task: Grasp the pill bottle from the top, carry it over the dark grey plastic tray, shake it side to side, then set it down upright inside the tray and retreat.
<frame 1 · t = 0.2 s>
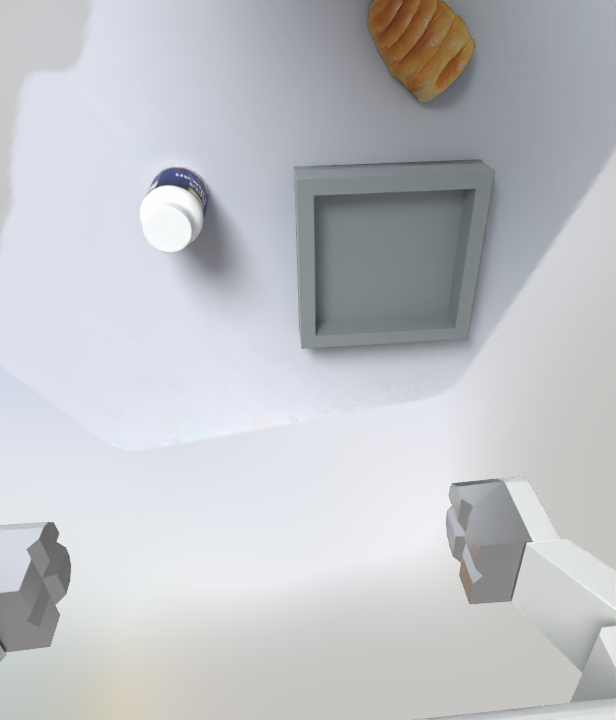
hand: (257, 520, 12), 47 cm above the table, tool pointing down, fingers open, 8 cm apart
pill bottle: (180, 191, 55), on the table
tray: (382, 250, 60), on the table
pastry: (416, 44, 50), on the table
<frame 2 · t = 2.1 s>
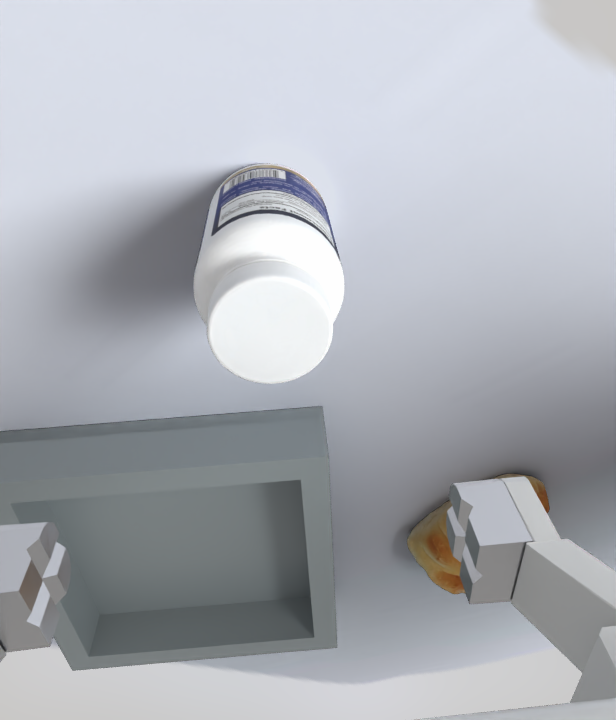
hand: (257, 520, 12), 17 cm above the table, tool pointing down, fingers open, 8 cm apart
pill bottle: (268, 219, 26), on the table
tray: (189, 524, 37), on the table
pastry: (468, 514, 39), on the table
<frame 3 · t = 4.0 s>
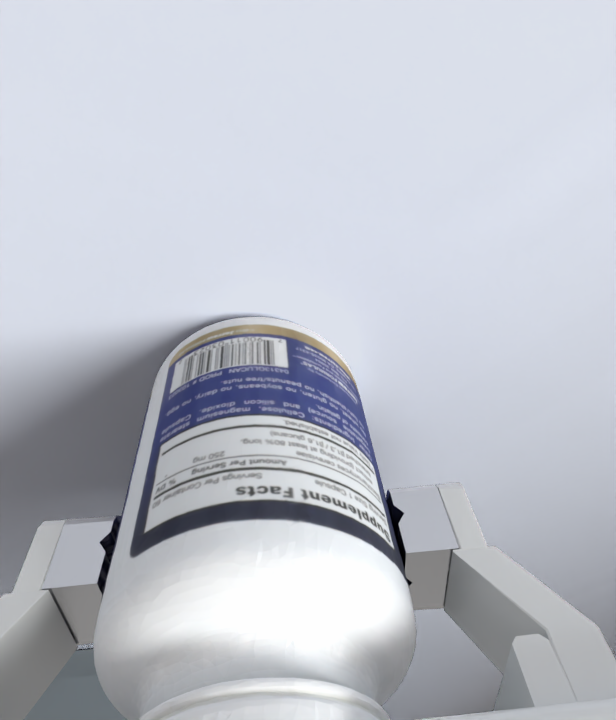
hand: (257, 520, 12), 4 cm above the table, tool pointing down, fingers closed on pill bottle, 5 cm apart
pill bottle: (257, 393, 15), on the table, touching gripper
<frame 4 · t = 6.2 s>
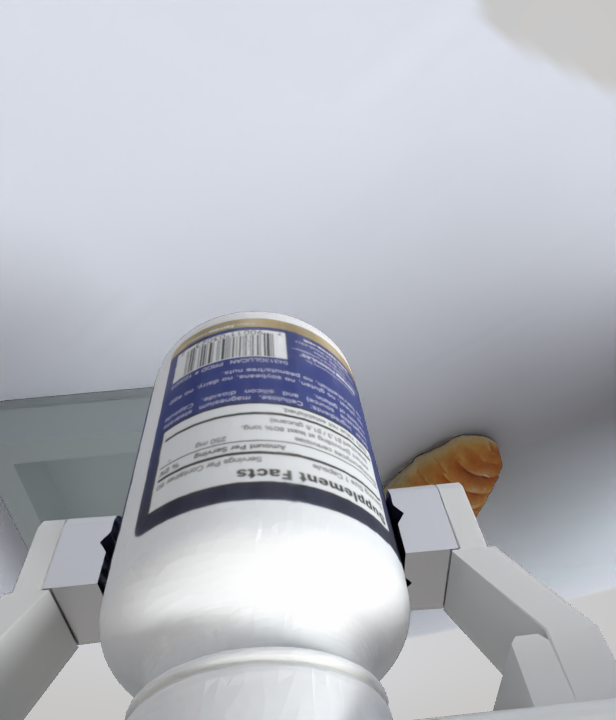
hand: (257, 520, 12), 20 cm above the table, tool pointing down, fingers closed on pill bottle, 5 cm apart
pill bottle: (257, 387, 16), point 16 cm above the table, touching gripper
tray: (179, 490, 40), on the table
pastry: (431, 476, 42), on the table
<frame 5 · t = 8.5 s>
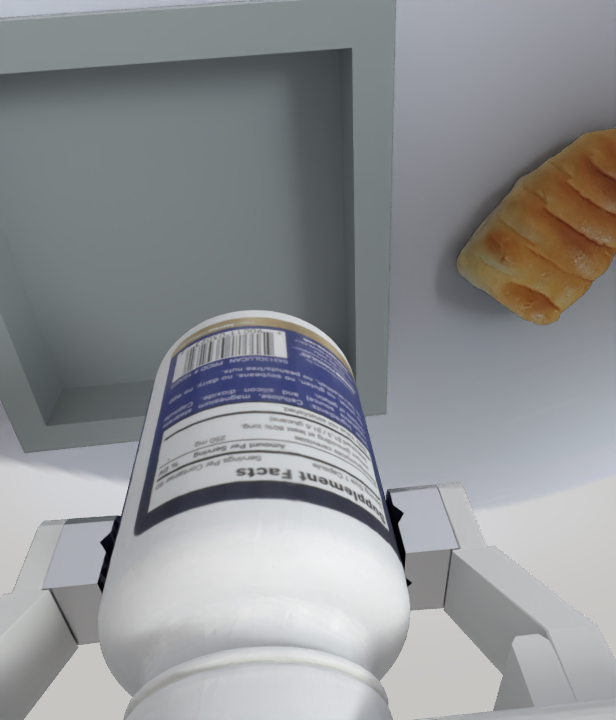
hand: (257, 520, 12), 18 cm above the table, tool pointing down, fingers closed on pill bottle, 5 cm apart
pill bottle: (256, 386, 16), point 13 cm above the table, touching gripper
tray: (182, 232, 27), on the table
pastry: (534, 225, 29), on the table
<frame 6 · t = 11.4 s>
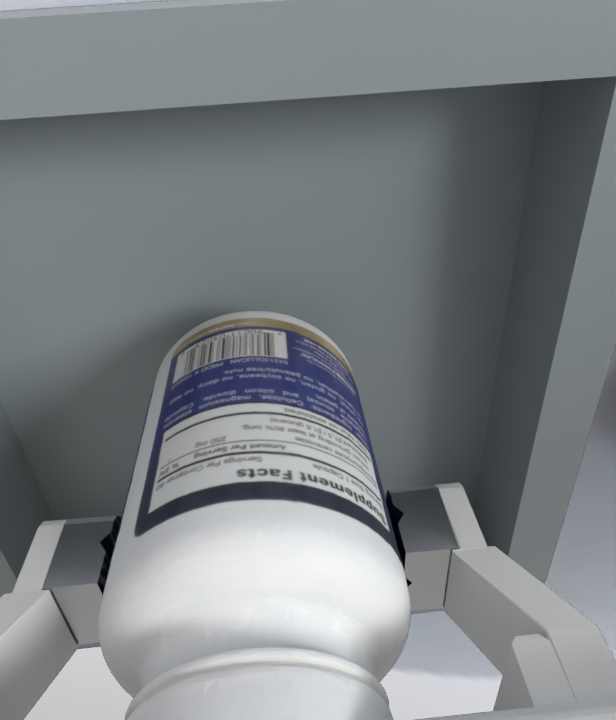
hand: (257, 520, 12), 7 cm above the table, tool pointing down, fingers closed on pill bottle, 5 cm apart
pill bottle: (257, 386, 16), point 2 cm above the table, touching gripper
tray: (251, 341, 18), on the table
when the fingers open (7 cm above the table, at t = 12.1 s): pill bottle drops 1 cm, resting on tray.
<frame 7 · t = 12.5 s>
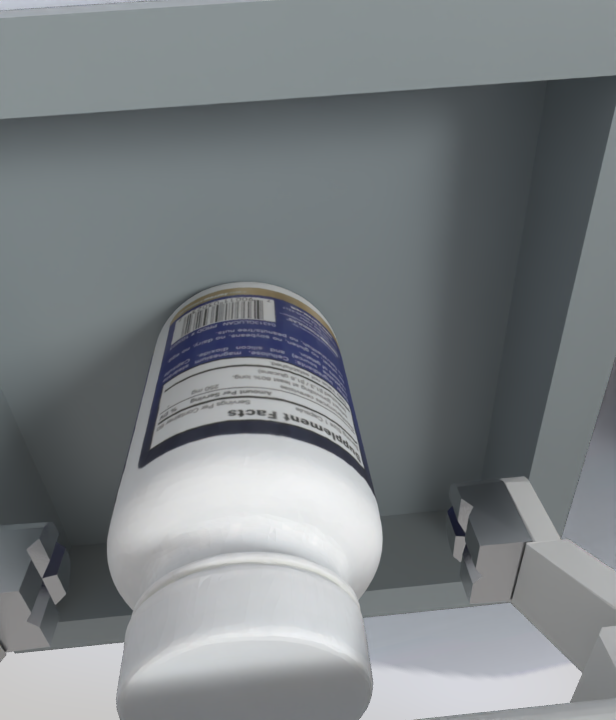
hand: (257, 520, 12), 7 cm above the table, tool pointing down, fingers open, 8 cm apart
pill bottle: (249, 354, 17), point 1 cm above the table, touching tray
tray: (255, 340, 18), on the table
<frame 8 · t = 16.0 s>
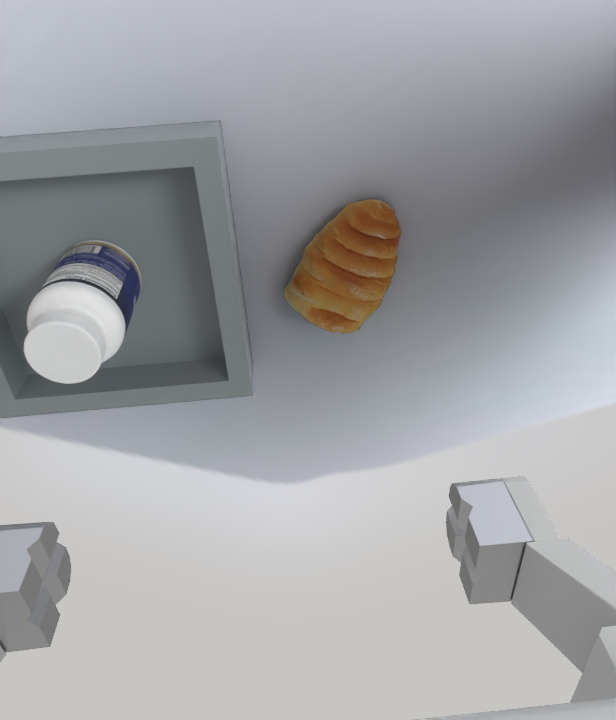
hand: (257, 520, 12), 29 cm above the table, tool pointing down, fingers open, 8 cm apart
pill bottle: (102, 274, 39), point 1 cm above the table, touching tray
tray: (108, 268, 39), on the table
pastry: (339, 262, 41), on the table
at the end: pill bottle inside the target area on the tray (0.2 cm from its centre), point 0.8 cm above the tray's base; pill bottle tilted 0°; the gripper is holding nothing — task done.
